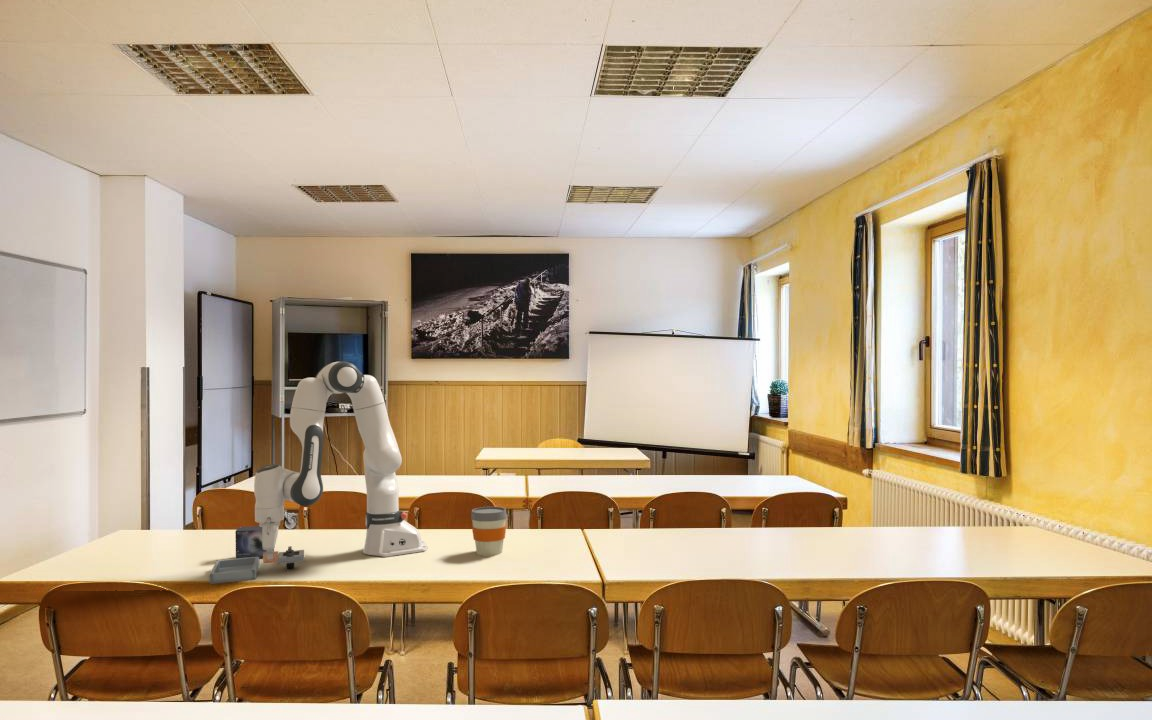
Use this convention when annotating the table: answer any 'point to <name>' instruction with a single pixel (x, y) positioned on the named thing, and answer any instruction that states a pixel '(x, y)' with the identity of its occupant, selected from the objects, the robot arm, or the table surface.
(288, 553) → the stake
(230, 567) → the tray
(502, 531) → the reusable coffee cup
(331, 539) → the table surface
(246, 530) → the small box
